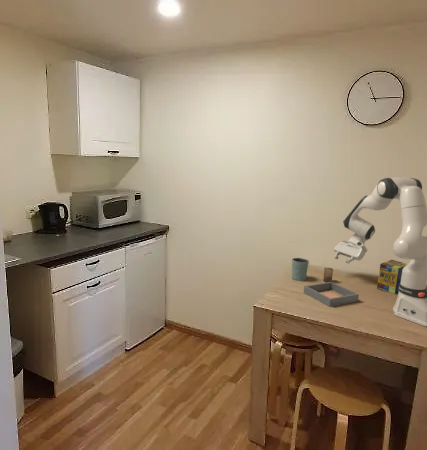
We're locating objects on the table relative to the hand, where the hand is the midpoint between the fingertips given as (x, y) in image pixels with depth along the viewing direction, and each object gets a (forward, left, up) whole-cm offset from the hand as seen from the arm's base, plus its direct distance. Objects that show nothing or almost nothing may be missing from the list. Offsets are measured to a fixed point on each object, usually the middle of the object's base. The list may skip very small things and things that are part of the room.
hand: (341, 260), depth 225 cm
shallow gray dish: (-20, +27, -12) cm, 35 cm away
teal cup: (+10, +24, -12) cm, 28 cm away
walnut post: (0, +10, -12) cm, 16 cm away
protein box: (-23, -18, -13) cm, 32 cm away
